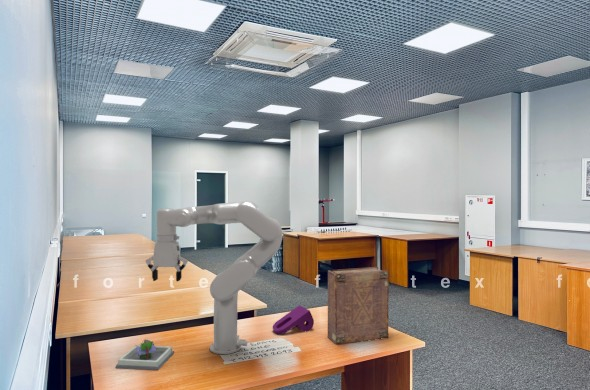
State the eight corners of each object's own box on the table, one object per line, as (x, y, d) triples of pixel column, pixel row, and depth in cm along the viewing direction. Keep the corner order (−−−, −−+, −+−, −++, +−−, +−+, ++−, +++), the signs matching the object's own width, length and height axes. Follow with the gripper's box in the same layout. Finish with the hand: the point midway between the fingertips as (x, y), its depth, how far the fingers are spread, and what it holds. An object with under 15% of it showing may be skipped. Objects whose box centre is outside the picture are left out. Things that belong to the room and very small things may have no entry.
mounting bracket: (285, 348, 182) (316, 325, 190) (278, 333, 180) (309, 310, 188) (276, 341, 190) (305, 319, 198) (269, 326, 188) (299, 305, 196)
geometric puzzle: (159, 355, 152) (155, 334, 156) (140, 359, 148) (137, 337, 152) (155, 361, 157) (151, 340, 161) (136, 365, 153) (133, 344, 157)
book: (377, 331, 188) (378, 266, 187) (388, 338, 179) (389, 270, 178) (327, 337, 180) (327, 270, 179) (335, 345, 171) (336, 274, 170)
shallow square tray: (174, 353, 161) (174, 346, 161) (157, 370, 146) (157, 362, 146) (135, 351, 163) (135, 344, 163) (115, 368, 148) (115, 360, 148)
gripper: (190, 237, 168) (190, 278, 169) (149, 237, 170) (150, 278, 170) (184, 240, 161) (184, 282, 161) (141, 239, 162) (142, 282, 163)
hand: (166, 280), depth 166 cm, fingers open, 9 cm apart
